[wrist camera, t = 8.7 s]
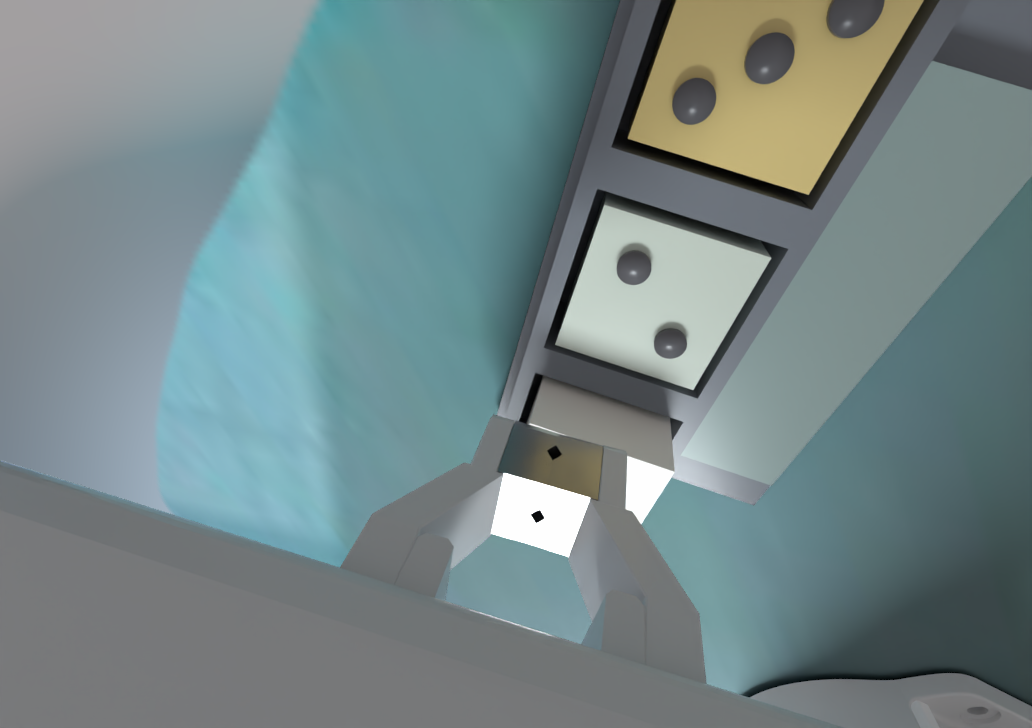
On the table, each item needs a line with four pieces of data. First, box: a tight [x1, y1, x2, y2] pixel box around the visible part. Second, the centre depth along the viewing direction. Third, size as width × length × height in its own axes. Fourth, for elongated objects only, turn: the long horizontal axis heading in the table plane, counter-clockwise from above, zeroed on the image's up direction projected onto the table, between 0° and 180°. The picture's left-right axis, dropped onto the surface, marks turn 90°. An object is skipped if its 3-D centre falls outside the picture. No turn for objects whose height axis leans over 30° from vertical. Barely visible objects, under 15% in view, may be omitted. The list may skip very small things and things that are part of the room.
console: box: [497, 0, 1032, 505], centre depth 15 cm, size 12×18×4 cm, turn 166°
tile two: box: [555, 191, 771, 390], centre depth 15 cm, size 4×4×4 cm
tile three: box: [628, 0, 924, 195], centre depth 11 cm, size 4×4×4 cm
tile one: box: [526, 375, 675, 524], centre depth 17 cm, size 4×4×4 cm
